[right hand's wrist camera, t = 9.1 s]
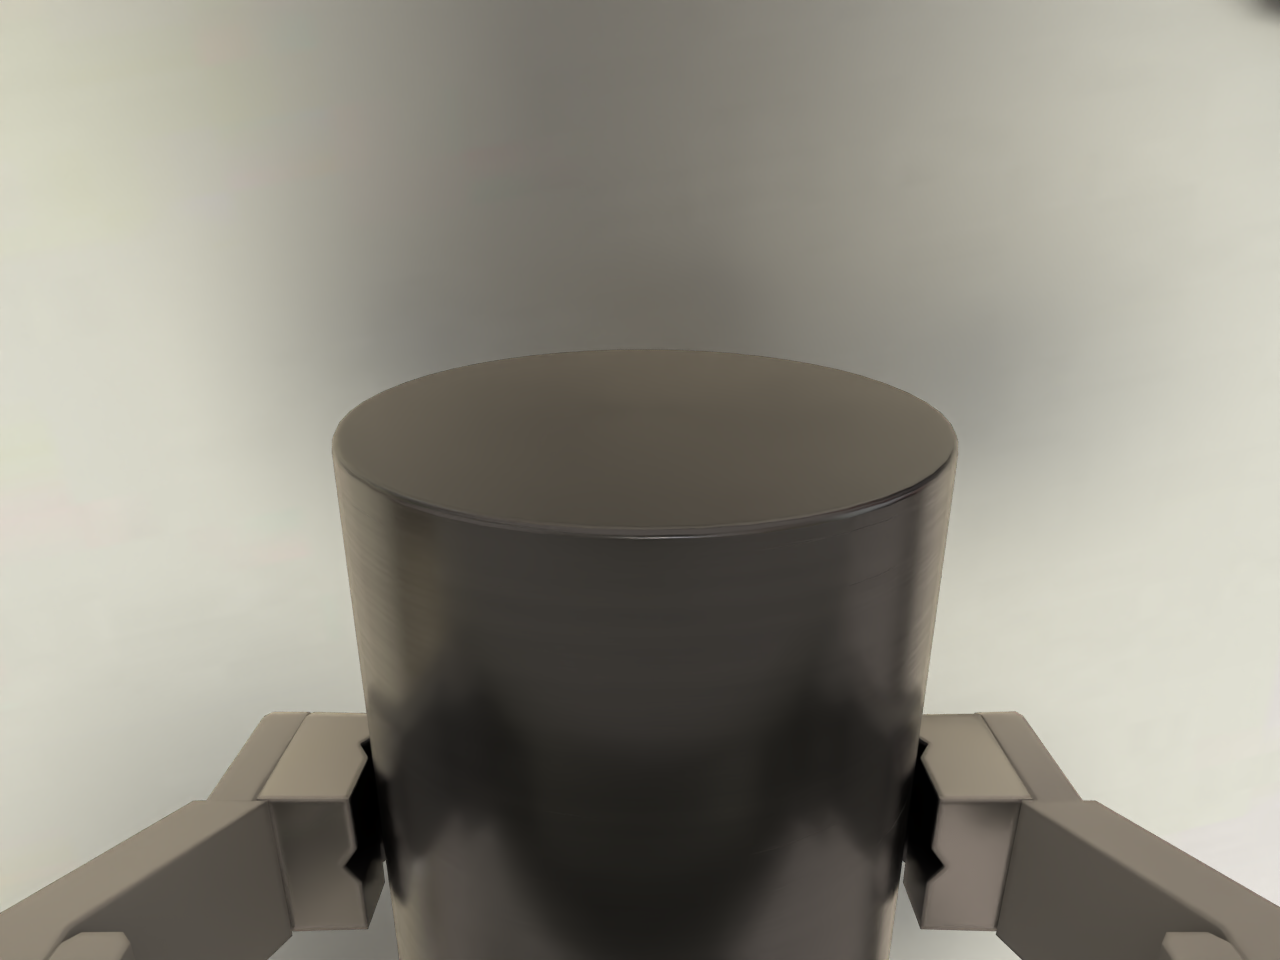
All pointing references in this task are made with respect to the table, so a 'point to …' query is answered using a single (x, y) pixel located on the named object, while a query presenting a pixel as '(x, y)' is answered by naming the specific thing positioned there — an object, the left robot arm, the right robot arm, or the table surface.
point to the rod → (644, 651)
